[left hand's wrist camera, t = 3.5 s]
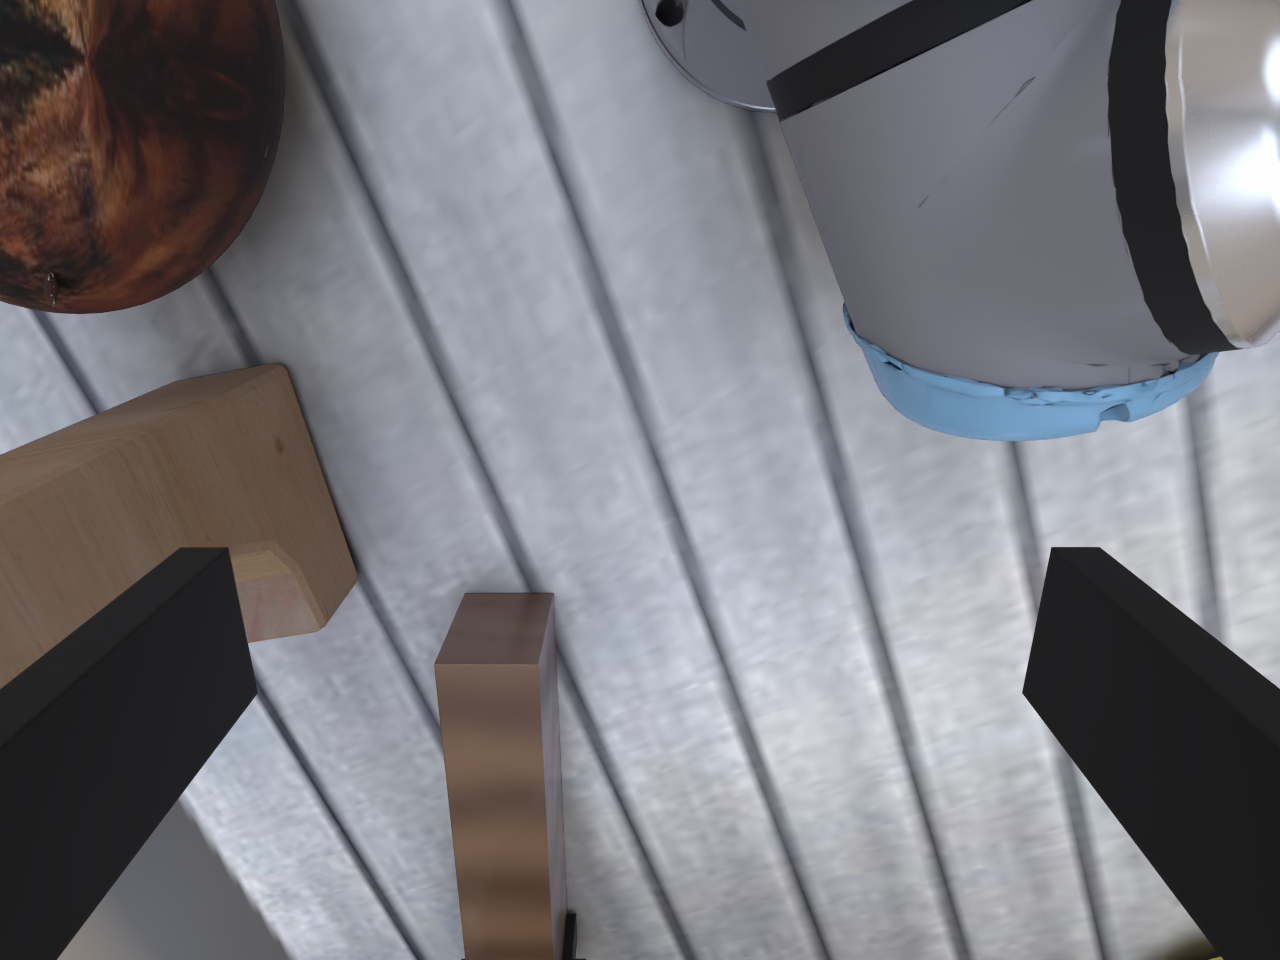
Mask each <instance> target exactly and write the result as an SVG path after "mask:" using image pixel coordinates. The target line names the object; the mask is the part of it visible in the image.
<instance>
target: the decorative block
mask: <svg viewBox="0 0 1280 960" xmlns="http://www.w3.org/2000/svg"><path fill="white" fill-rule="evenodd" d="M180 547H229V552H230V557H231V562H232V567H233V572H234V577H235V582H236V587H237V592H238V597H239V602H240V607H241V612H242V617H243V622H244V627H245V632H246V637H247V642H248V643H250V642H256V641H262V640H268V639H274V638H281V637H287V636H293V635H299V634H305V633H311V632H316V631H318V630H320V629H321V628H323V627H325V625H326V624H327V622H328V621H329V620H330V618H331V617H332V615H333V614H334V613H335V611H336V610H337V608H338V607H339V606H340V604H341V603H342V601H343V600H344V599H345V597H346V596H347V594H348V593H349V592H350V590H351V589H352V587H353V586H354V585H355V583H356V580H357V572H356V569H355V566H354V563H353V561H352V558H351V555H350V552H349V549H348V546H347V543H346V540H345V537H344V534H343V532H342V529H341V526H340V523H339V520H338V517H337V514H336V511H335V508H334V506H333V503H332V500H331V497H330V494H329V491H328V488H327V485H326V482H325V479H324V477H323V474H322V471H321V468H320V465H319V462H318V459H317V456H316V453H315V450H314V447H313V445H312V442H311V439H310V436H309V433H308V430H307V427H306V424H305V421H304V418H303V416H302V413H301V410H300V407H299V404H298V401H297V398H296V395H295V392H294V389H293V386H292V384H291V381H290V378H289V375H288V372H287V370H286V369H285V368H284V366H282V365H277V364H267V365H262V366H256V367H251V368H246V369H240V370H235V371H230V372H224V373H219V374H213V375H208V376H203V377H197V378H192V379H187V380H181V381H176V382H172V383H170V384H168V385H165V386H163V387H161V388H158V389H156V390H154V391H151V392H149V393H146V394H144V395H142V396H139V397H137V398H135V399H132V400H130V401H127V402H125V403H123V404H120V405H118V406H116V407H113V408H111V409H108V410H106V411H104V412H101V413H99V414H97V415H94V416H92V417H90V418H87V419H85V420H82V421H80V422H78V423H75V424H73V425H71V426H68V427H66V428H63V429H61V430H59V431H56V432H54V433H51V434H49V435H47V436H44V437H42V438H40V439H37V440H35V441H32V442H30V443H28V444H25V445H23V446H20V447H18V448H16V449H13V450H11V451H9V452H6V453H4V454H1V455H0V689H1V688H2V687H3V686H5V685H6V684H7V683H9V682H10V681H11V680H12V679H14V678H15V677H16V676H17V675H19V674H20V673H21V672H23V671H24V670H25V669H26V668H28V667H29V666H30V665H31V664H33V663H34V662H35V661H36V660H38V659H39V658H40V657H42V656H43V655H44V654H45V653H47V652H48V651H49V650H50V649H52V648H53V647H54V646H56V645H57V644H58V643H59V642H61V641H62V640H63V639H64V638H66V637H67V636H68V635H70V634H71V633H72V632H73V631H75V630H76V629H77V628H78V627H80V626H81V625H82V624H84V623H85V622H86V621H87V620H89V619H90V618H91V617H92V616H94V615H95V614H96V613H97V612H99V611H100V610H101V609H103V608H104V607H105V606H106V605H108V604H109V603H110V602H111V601H113V600H114V599H115V598H117V597H118V596H119V595H120V594H122V593H123V592H124V591H125V590H127V589H128V588H129V587H131V586H132V585H133V584H134V583H136V582H137V581H138V580H139V579H141V578H142V577H143V576H145V575H146V574H147V573H148V572H150V571H151V570H152V569H153V568H155V567H156V566H157V565H159V564H160V563H161V562H162V561H164V560H165V559H166V558H167V557H169V556H170V555H171V554H172V553H174V552H175V551H176V550H178V549H179V548H180Z"/></svg>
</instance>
